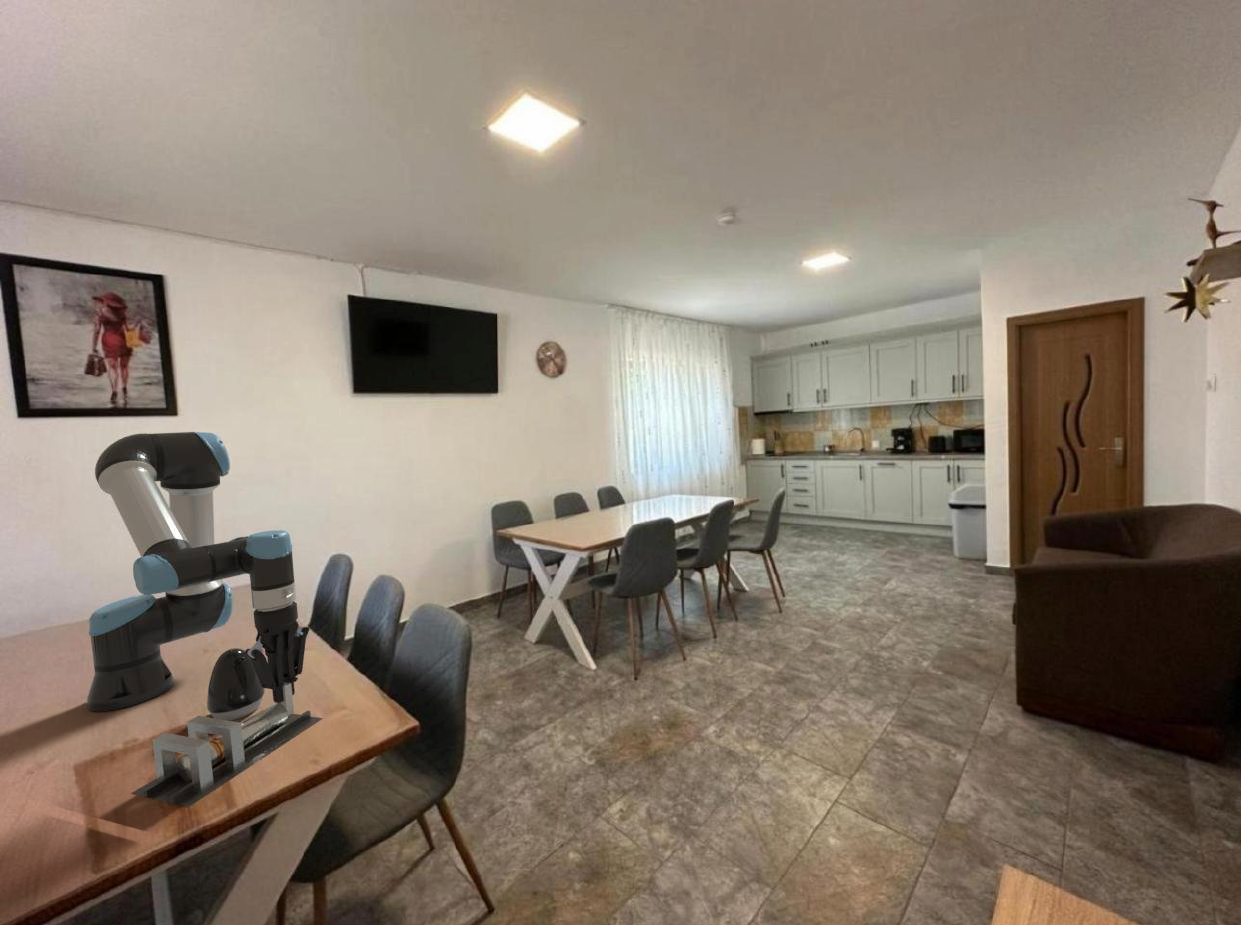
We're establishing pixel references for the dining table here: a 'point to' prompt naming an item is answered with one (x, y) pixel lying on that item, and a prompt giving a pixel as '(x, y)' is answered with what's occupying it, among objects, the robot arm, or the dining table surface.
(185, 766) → the tube
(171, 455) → the robot arm
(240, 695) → the black tall rounded dome
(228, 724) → the twin arch cradle
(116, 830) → the dining table surface
